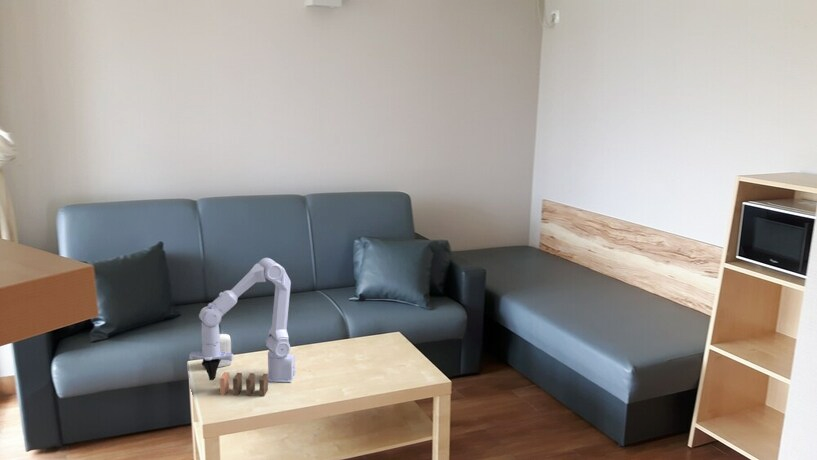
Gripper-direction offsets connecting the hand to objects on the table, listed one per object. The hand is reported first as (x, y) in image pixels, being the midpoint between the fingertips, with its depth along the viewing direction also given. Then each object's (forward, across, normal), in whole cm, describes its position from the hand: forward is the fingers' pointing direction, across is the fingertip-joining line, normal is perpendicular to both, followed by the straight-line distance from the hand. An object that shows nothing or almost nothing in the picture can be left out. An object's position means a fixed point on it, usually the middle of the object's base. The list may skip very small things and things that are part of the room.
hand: (212, 379), depth 212 cm
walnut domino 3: (+4, +18, 0) cm, 18 cm away
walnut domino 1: (+4, +9, 0) cm, 10 cm away
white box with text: (+5, -5, +20) cm, 22 cm away
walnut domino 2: (+4, +13, 0) cm, 14 cm away
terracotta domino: (+4, +4, 0) cm, 6 cm away
